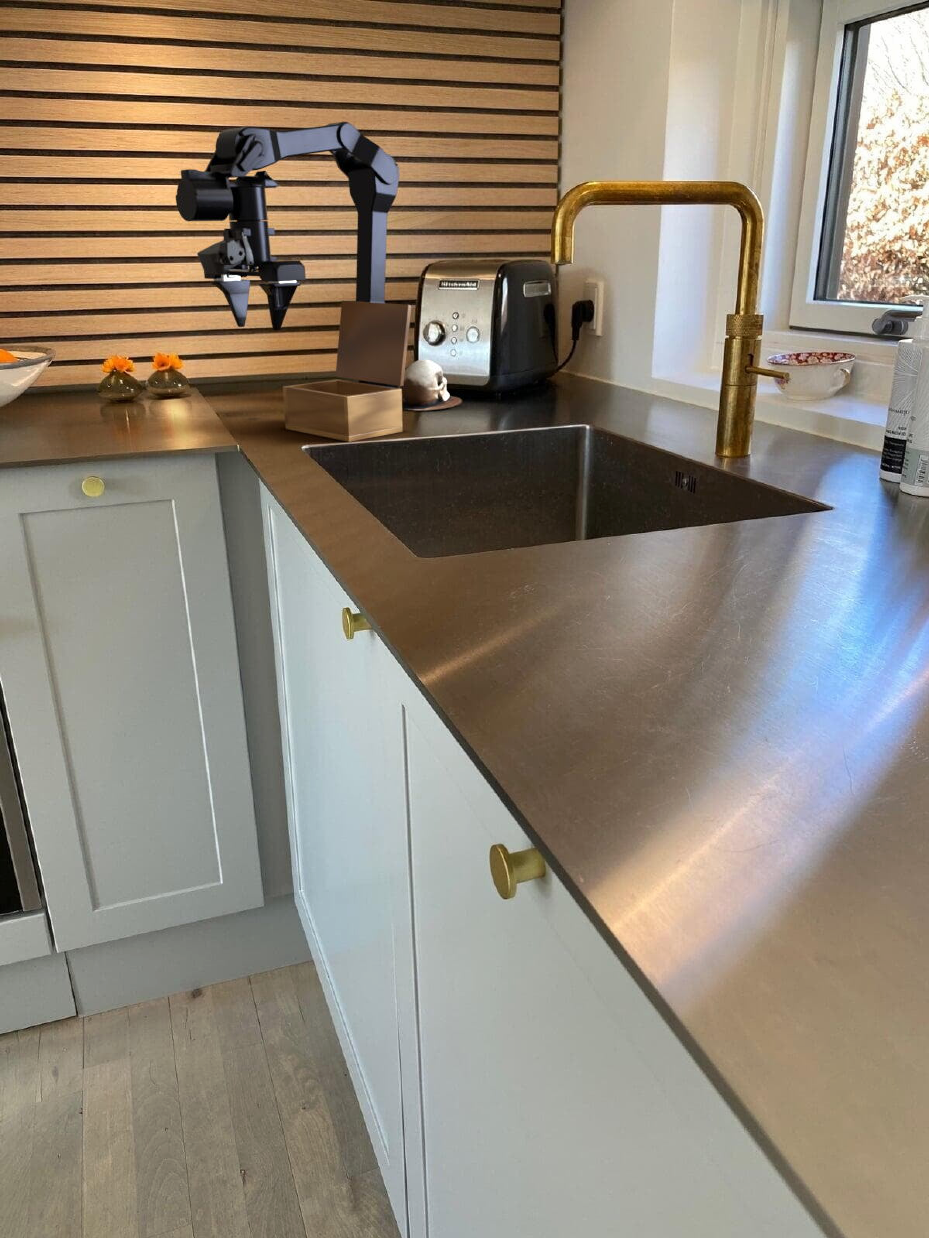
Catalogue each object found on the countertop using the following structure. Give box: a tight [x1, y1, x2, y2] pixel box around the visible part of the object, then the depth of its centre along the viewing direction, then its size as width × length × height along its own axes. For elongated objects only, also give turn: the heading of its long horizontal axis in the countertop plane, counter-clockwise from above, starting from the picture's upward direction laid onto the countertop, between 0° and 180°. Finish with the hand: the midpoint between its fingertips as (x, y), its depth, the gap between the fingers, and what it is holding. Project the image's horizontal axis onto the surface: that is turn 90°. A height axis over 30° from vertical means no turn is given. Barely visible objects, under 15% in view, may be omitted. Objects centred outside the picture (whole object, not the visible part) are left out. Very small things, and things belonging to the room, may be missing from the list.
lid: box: [335, 300, 412, 387], centre depth 141 cm, size 11×15×1 cm
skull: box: [400, 359, 463, 411], centre depth 162 cm, size 12×10×10 cm
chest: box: [282, 379, 404, 443], centre depth 140 cm, size 11×15×6 cm
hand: (258, 328), depth 148 cm, fingers open, 9 cm apart
